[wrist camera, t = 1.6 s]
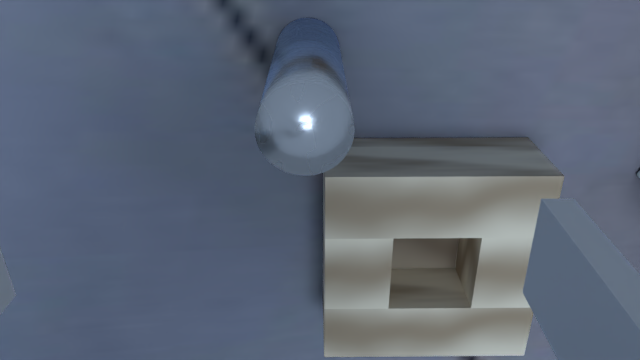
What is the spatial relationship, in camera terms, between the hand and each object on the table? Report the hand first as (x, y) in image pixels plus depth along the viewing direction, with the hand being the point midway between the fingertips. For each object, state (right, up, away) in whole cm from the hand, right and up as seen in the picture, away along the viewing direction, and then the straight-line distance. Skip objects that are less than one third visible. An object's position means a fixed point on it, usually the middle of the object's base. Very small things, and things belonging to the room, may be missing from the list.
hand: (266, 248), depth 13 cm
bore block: (+9, -2, +27) cm, 28 cm away
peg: (+1, +10, +21) cm, 23 cm away
